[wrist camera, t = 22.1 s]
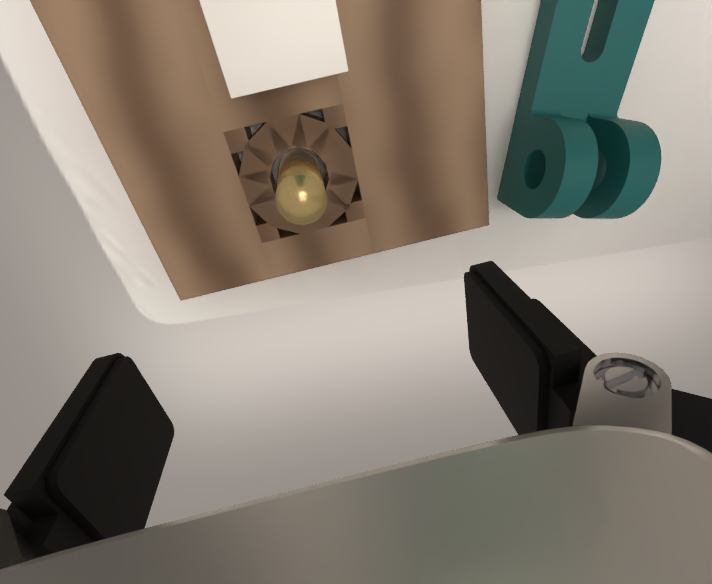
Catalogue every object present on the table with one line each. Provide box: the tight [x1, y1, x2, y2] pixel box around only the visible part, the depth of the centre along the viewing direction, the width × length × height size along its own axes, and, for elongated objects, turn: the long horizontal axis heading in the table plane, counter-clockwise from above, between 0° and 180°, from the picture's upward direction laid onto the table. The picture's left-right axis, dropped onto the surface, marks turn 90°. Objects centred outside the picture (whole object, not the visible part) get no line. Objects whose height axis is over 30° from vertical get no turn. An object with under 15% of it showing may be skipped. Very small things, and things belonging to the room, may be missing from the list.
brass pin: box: [275, 149, 327, 225], centre depth 27 cm, size 3×3×8 cm
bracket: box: [497, 0, 661, 219], centre depth 27 cm, size 18×7×8 cm, turn 177°
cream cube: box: [199, 0, 348, 99], centre depth 21 cm, size 6×6×6 cm
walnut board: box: [30, 0, 489, 300], centre depth 28 cm, size 25×20×2 cm
